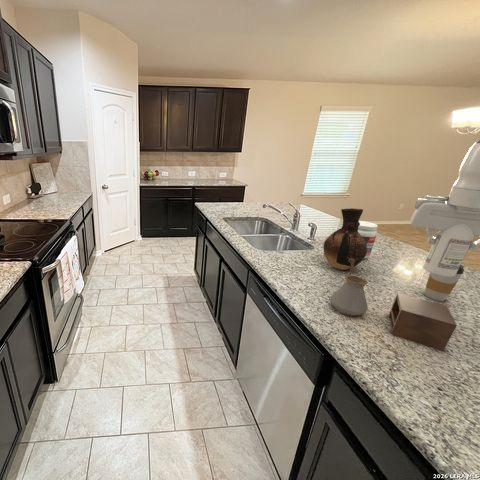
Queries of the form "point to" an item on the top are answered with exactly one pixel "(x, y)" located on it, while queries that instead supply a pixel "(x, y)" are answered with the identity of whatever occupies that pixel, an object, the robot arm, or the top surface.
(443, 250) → the bath foam
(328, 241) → the ceramic vessel
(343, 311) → the coffee pot
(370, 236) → the supplement tub
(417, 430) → the top surface
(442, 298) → the coffee cup
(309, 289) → the top surface
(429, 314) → the shelf
